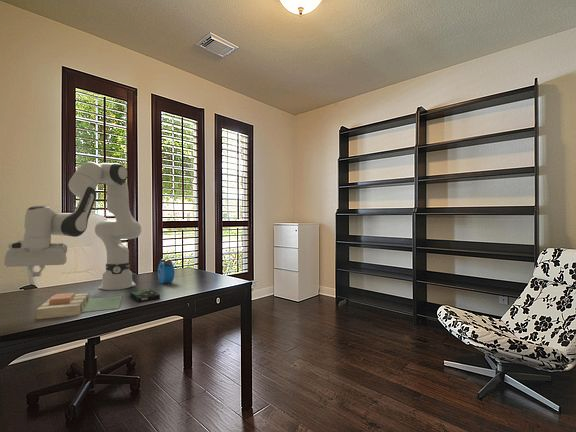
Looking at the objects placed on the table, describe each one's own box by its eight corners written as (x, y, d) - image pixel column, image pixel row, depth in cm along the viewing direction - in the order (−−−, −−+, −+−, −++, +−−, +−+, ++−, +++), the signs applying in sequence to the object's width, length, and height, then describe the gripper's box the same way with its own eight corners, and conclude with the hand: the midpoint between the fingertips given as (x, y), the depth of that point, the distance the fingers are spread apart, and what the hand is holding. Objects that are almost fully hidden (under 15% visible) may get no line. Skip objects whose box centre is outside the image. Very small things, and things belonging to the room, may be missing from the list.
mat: (89, 299, 146) (89, 298, 146) (122, 296, 152) (122, 295, 152) (80, 312, 126) (80, 311, 126) (118, 308, 132) (118, 307, 132)
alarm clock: (174, 284, 182) (174, 259, 182) (164, 285, 178) (164, 260, 178) (167, 280, 192) (167, 257, 192) (157, 281, 188) (157, 258, 188)
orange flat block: (55, 298, 133) (56, 294, 133) (74, 296, 136) (74, 292, 136) (49, 304, 124) (49, 299, 124) (69, 302, 127) (69, 297, 127)
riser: (52, 304, 137) (52, 295, 137) (88, 301, 143) (88, 292, 143) (36, 319, 117) (36, 309, 117) (79, 314, 123) (79, 305, 123)
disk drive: (160, 300, 149) (150, 293, 160) (160, 294, 149) (150, 288, 160) (138, 303, 142) (129, 297, 153) (138, 298, 142) (129, 291, 153)
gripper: (69, 242, 133) (68, 273, 133) (9, 243, 125) (8, 276, 124) (65, 243, 128) (64, 276, 127) (3, 244, 119) (1, 279, 119)
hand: (36, 276), depth 126 cm, fingers closed
